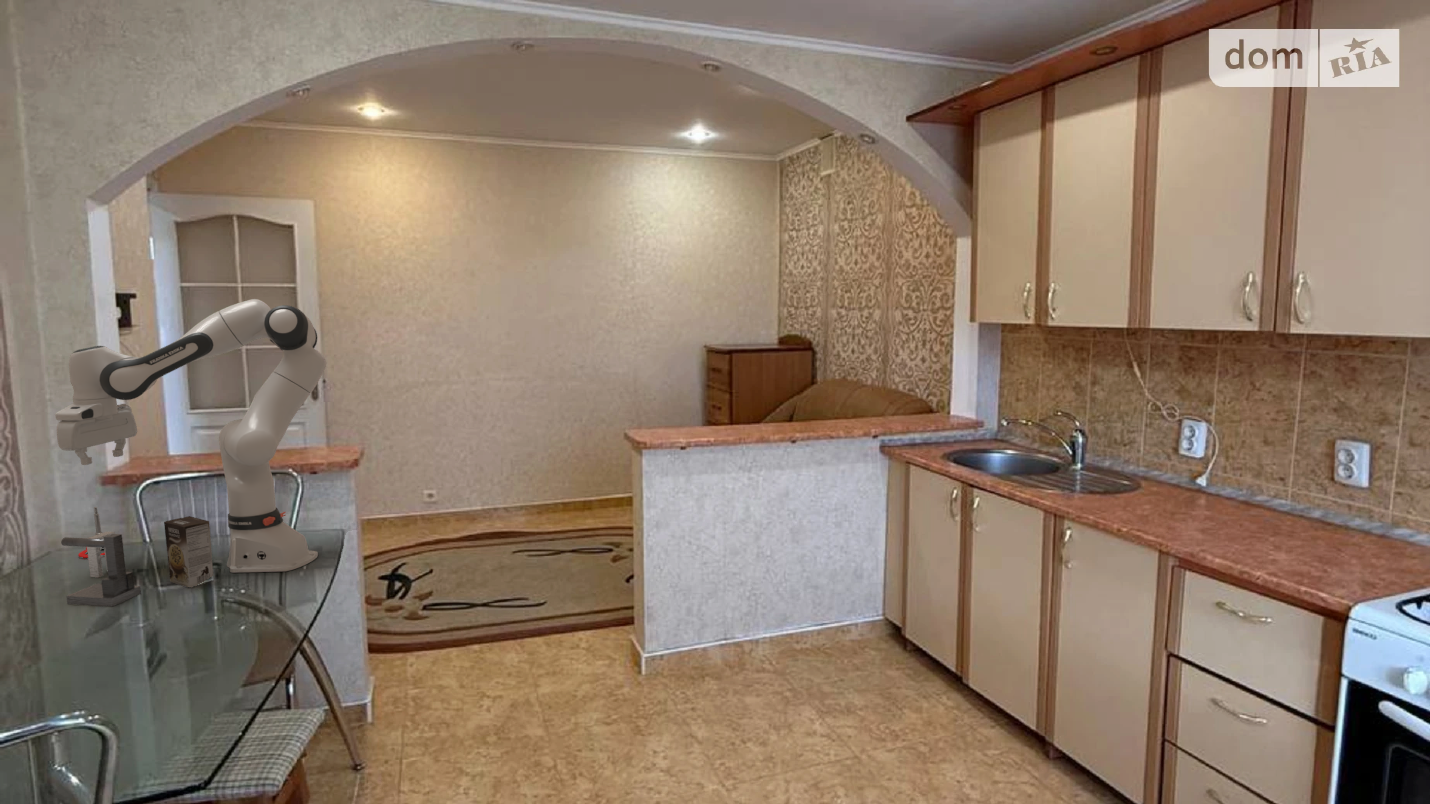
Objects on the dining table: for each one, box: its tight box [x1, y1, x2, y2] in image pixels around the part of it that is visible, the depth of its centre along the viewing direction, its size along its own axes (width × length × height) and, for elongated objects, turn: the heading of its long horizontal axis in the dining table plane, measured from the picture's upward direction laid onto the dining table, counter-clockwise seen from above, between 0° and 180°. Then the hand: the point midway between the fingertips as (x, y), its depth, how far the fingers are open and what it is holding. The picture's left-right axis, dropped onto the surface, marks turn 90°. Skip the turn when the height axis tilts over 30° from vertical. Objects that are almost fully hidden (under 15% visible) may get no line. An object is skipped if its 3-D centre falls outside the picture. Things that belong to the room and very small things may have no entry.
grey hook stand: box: [60, 533, 142, 607], centre depth 187 cm, size 15×8×16 cm, turn 83°
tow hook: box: [77, 506, 105, 558], centre depth 218 cm, size 8×13×9 cm
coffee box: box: [163, 515, 214, 588], centre depth 198 cm, size 9×6×16 cm
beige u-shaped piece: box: [87, 531, 116, 579], centre depth 203 cm, size 2×6×10 cm, turn 173°
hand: (103, 460), depth 204 cm, fingers open, 8 cm apart
